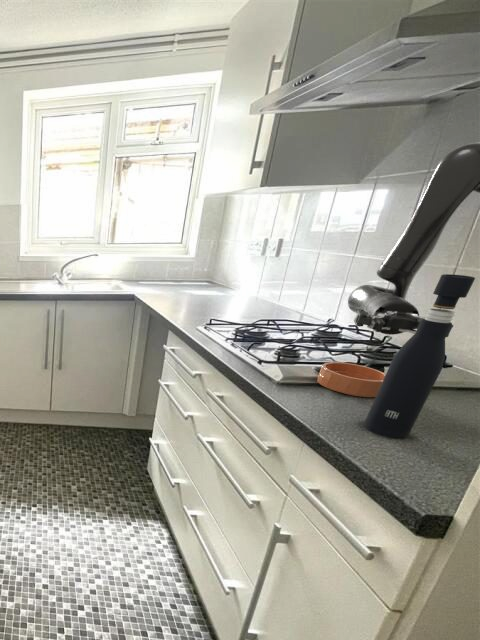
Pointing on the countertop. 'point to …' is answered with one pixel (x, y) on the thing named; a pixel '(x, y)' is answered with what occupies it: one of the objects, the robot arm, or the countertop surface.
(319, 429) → the countertop surface
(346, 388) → the bowl
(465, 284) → the dark water bottle
